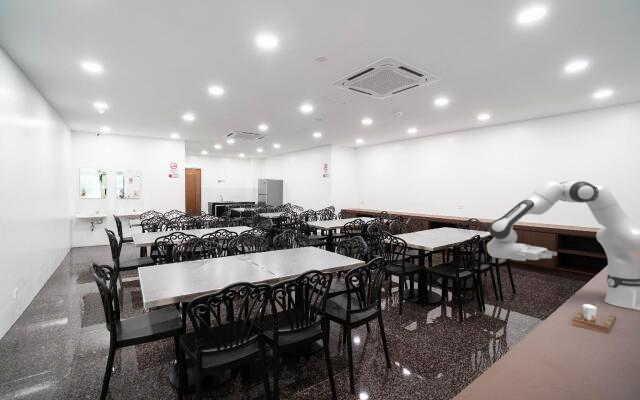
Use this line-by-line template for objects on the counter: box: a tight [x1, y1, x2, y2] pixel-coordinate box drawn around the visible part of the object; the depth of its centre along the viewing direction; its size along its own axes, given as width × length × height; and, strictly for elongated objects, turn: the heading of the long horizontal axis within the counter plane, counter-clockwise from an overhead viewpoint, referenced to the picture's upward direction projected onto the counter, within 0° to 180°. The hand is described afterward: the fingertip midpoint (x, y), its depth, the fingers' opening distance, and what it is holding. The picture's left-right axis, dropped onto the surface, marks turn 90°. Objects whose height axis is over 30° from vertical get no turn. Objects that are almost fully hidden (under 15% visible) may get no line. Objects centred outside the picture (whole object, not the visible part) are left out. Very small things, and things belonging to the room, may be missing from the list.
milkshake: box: [581, 302, 599, 323], centre depth 127 cm, size 5×5×10 cm
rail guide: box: [571, 307, 617, 334], centre depth 132 cm, size 24×11×2 cm, turn 130°
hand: (554, 255), depth 147 cm, fingers open, 8 cm apart
